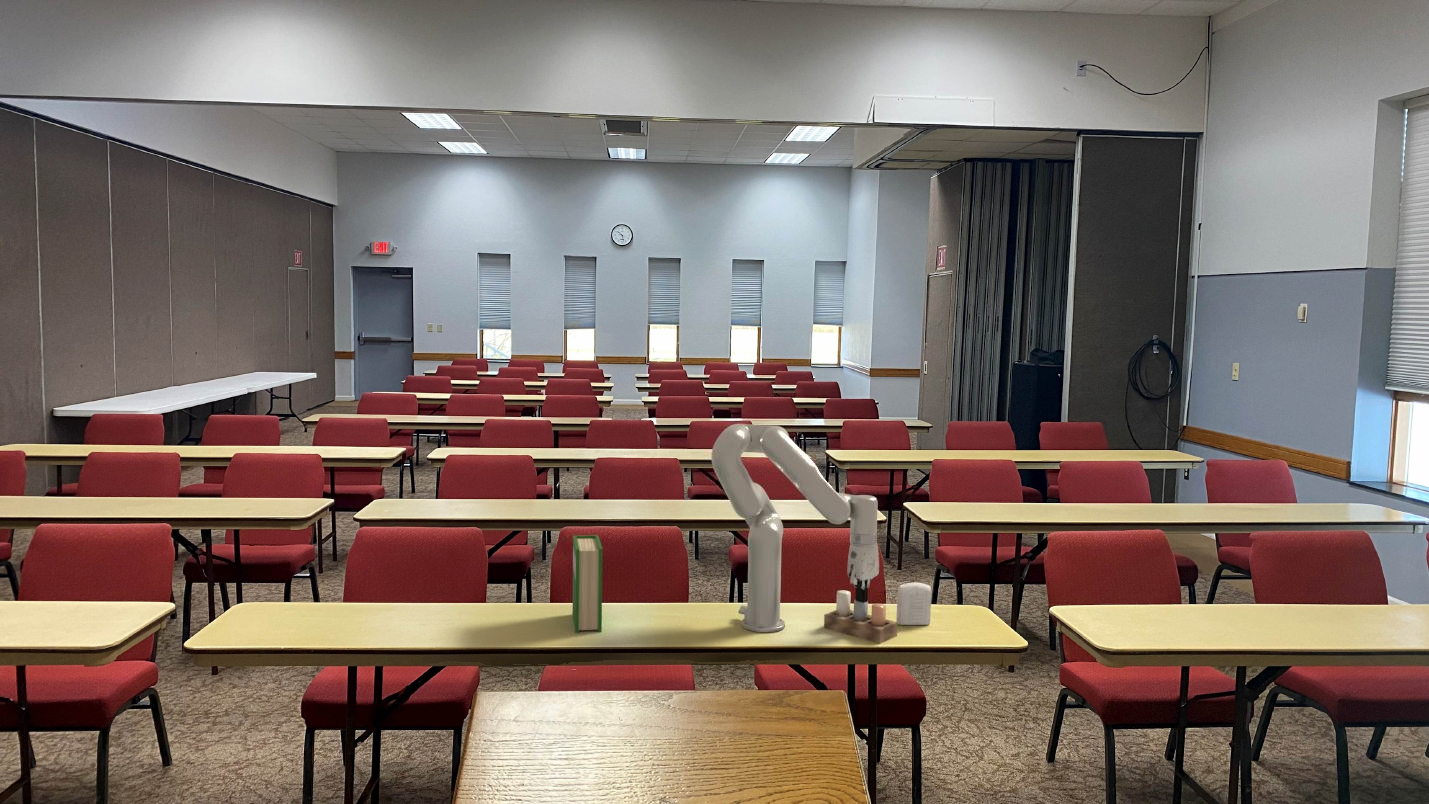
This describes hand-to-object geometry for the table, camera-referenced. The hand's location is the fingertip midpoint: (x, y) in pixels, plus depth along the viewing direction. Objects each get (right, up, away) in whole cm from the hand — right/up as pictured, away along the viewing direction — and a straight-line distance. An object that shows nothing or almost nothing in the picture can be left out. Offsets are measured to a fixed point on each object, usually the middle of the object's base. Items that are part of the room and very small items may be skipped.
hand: (861, 601), depth 262 cm
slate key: (0, -7, +1) cm, 7 cm away
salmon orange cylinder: (+4, -7, -3) cm, 9 cm away
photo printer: (+17, -9, +9) cm, 21 cm away
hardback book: (-80, -7, +4) cm, 80 cm away
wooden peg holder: (0, -9, +1) cm, 9 cm away
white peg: (-5, -5, +4) cm, 8 cm away
